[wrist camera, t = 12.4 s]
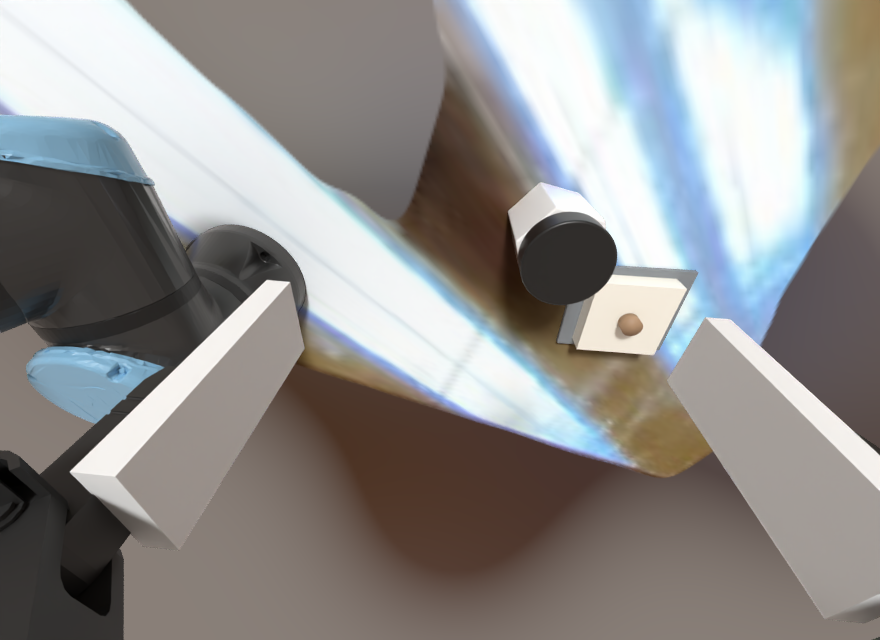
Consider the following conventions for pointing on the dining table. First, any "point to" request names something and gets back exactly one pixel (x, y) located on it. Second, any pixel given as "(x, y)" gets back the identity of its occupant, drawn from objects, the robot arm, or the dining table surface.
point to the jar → (561, 245)
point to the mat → (681, 275)
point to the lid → (628, 314)
